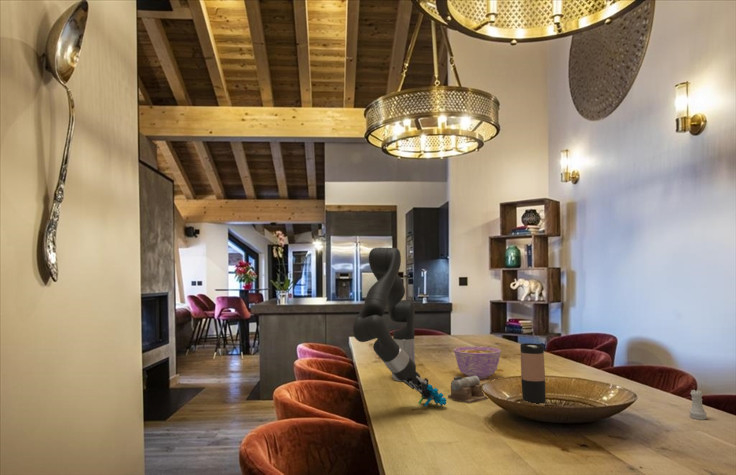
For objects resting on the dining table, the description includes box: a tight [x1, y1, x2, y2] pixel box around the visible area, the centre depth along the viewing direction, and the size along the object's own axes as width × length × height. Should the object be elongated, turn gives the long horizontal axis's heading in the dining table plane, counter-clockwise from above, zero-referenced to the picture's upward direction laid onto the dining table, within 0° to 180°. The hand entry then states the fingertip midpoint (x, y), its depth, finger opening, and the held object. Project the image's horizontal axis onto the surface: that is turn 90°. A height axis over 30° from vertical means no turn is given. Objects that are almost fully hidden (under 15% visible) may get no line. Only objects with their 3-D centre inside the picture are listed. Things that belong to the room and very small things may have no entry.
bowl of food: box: [453, 346, 502, 380], centre depth 205 cm, size 20×20×12 cm
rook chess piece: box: [688, 389, 708, 421], centre depth 143 cm, size 4×4×8 cm
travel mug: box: [520, 342, 546, 404], centre depth 160 cm, size 8×8×20 cm
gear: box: [418, 383, 447, 408], centre depth 159 cm, size 11×6×10 cm
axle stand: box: [447, 375, 489, 404], centre depth 169 cm, size 12×10×8 cm
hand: (427, 395), depth 158 cm, fingers closed
